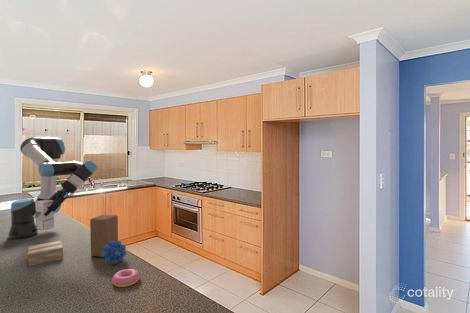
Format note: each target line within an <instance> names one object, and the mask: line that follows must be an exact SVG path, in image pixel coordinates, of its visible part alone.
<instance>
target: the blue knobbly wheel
mask: <svg viewBox="0 0 470 313" xmlns="http://www.w3.org/2000/svg"><path fill="white" fill-rule="evenodd" d="M103 248H104V250H105V251H103V252H102V256H103V257H102V258H104V262H105V263H111V264H112V265H116V264H117V263H122V262H123V261H124V257H125V256H127V251H126V249H127V247H126V245H125V244H122V241H121V240H118V241H116V242H115V241H110V242H109V245H104V247H103Z"/></svg>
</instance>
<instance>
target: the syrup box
mask: <svg viewBox="0 0 470 313" xmlns="http://www.w3.org/2000/svg"><path fill="white" fill-rule="evenodd" d="M52 203H53V200H41V201H37V202H35V205H36V218H35V225H36V228H37V230H38V231H48V230H51V229H54V228H55V214H54V211H53V212H51V213H50V214H49V215H48V216H47V217H46V218H45V219H44V220H43V221H42V222H40V221H38V220H37V218H38V217H39V216H40V215H41V214H42V213H43V212H44V211H45V210H46V209H48V208H47V207H50V205H51V204H52Z"/></svg>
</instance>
